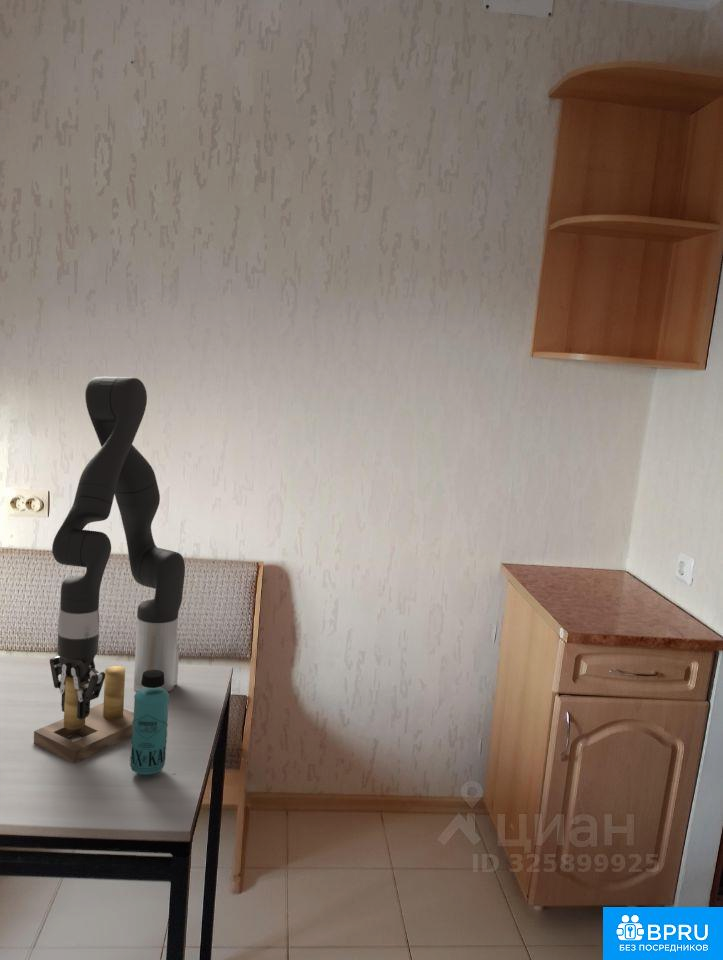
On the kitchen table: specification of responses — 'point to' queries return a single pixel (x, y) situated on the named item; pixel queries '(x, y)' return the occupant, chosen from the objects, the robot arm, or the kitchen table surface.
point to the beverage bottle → (149, 724)
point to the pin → (72, 706)
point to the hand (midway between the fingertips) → (75, 713)
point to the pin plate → (92, 724)
